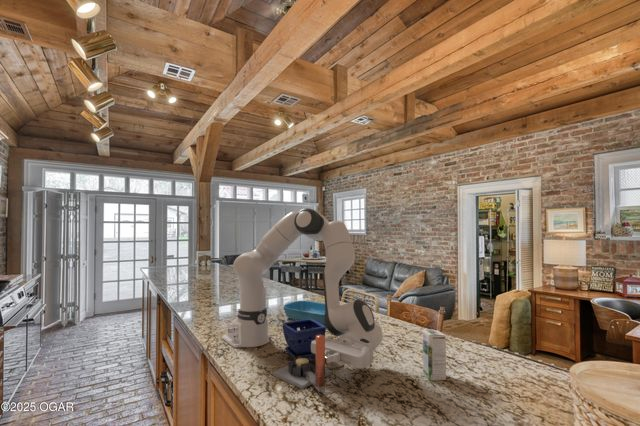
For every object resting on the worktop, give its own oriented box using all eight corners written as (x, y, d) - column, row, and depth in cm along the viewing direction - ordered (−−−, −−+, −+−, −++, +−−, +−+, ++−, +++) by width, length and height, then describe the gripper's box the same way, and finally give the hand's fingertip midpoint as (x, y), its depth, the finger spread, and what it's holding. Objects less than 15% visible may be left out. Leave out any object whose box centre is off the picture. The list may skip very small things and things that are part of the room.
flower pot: (294, 365, 114) (294, 331, 114) (281, 352, 125) (281, 322, 126) (326, 358, 120) (326, 326, 120) (311, 347, 131) (311, 317, 132)
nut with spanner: (285, 367, 109) (286, 320, 109) (309, 363, 112) (309, 317, 113) (308, 396, 90) (308, 339, 90) (335, 390, 93) (335, 335, 94)
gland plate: (272, 375, 106) (272, 361, 106) (301, 362, 116) (301, 349, 116) (302, 389, 96) (302, 373, 97) (331, 373, 107) (331, 359, 107)
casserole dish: (353, 319, 173) (353, 306, 173) (332, 330, 154) (332, 315, 154) (299, 310, 193) (299, 298, 193) (275, 318, 174) (275, 305, 174)
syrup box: (422, 373, 108) (421, 329, 108) (439, 372, 108) (438, 329, 109) (429, 381, 102) (428, 335, 103) (447, 380, 102) (446, 334, 103)
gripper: (326, 330, 112) (298, 340, 101) (377, 343, 98) (351, 357, 88) (326, 348, 111) (298, 361, 101) (377, 364, 98) (351, 380, 87)
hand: (323, 359), depth 94 cm, fingers closed, pressing on nut with spanner
